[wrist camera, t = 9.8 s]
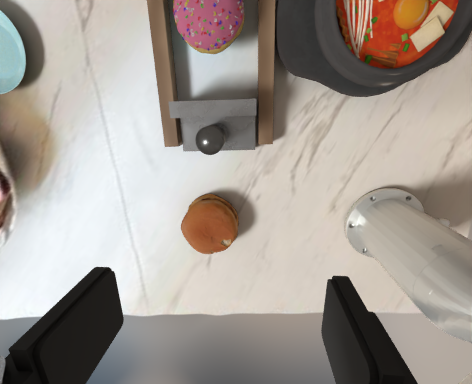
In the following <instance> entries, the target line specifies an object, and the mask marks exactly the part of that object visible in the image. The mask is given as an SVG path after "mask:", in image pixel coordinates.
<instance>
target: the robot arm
mask: <svg viewBox="0 0 472 384" xmlns="http://www.w3.org/2000/svg"><path fill="white" fill-rule="evenodd" d="M449 225H450V222H449V220H448V219H435V218H433V217H431V216H429V215H428V214H426V213H425V210H424V208H423V206H422V204H421V202H420V201H419V200H418V199H417V198H416V197H415V196H414V195H412V194H410V193H408V192H406V191H404V190H401V189H396V188H383V189H378V190H375V191H372V192H370V193H368V194H366V195H364V196H363V197H361V198H360V199H359V200H358V201H357V202H356V203H355V204H354V205H353V206H352V207H351V209H350V210H349V212H348V214H347V217H346V220H345V234H346V238H347V239H348V241H349V243H350V244H351V245H352V247H353V248H354V249H355V250H356V251H358V252H359V253H361V254H363V255H365V256H368V257H373V258H375V259H376V260H377V261H378V263H379V264H380V265H381V266H382V267H383V268H384V270H385V271H386V272H387V273H388V274H389V275H390V276H391V278H392V279H393V280H394V281H395V282H396V283H397V284H398V286H399V287H400V288H401V289H402V290H403V291H404V293H405V294H406V295H407V296H408V297H409V298H410V299H411V301H412V302H413V303H414V304H415V305H416V306H417V307H418V308H419V310H420V311H421V312H422V313H423V314H424V315H425V316H426V318H427V319H428V320H430V322H432V323H433V324H434V325H435V326H437V327H438V328H439V329H441V330H442V331H444V332H446V333H447V334H449V335H451V336H454V337H456V338H459V339H461V340H464V341H468V342H471V343H472V241H471V240H469V239H468V238H466V237H464V236H462V235H461V234H459V233H457V232H456V231H454V230H452V229H450V228H449ZM122 324H123V313H122V308H121V303H120V298H119V293H118V288H117V282H116V277H115V273H114V271H112V270H111V269H110V268H109V267H95V268H94V269H93V270H91V271H90V272H89V273H88V274H87V275H86V276H85V277H84V278H83V279H82V280H81V281H80V282H79V283H78V284H77V285H76V286H75V287H74V288H72V289H71V290H70V291H69V292H68V293H67V294H66V295H65V296H64V297H63V298H62V299H61V300H60V301H59V302H58V303H57V304H56V305H55V306H54V307H52V308H51V309H50V310H49V311H48V312H47V313H46V314H45V315H44V316H43V317H42V318H41V319H40V320H39V321H38V322H37V323H36V324H35V325H33V326H32V328H30V329H29V331H27V332H26V333H25V334H24V335H23V336H22V337H21V338H20V339H19V340H18V341H17V342H16V343H14V344H13V346H11V347H10V348H9V352H10V354H9V355H8V356H7V357H6V358H3V357H2V356H0V384H86V382H87V381H88V379H89V378H90V376H91V374H92V373H93V371H94V370H95V368H96V367H97V365H98V363H99V362H100V360H101V359H102V357H103V355H104V354H105V352H106V351H107V349H108V348H109V346H110V344H111V343H112V341H113V340H114V338H115V336H116V335H117V333H118V332H119V330H120V329H121V326H122ZM322 338H323V341H324V345H325V348H326V352H327V355H328V358H329V362H330V365H331V368H332V372H333V375H334V378H335V382H336V384H418V383H417V382H416V380H415V378H414V377H413V375H412V374H411V372H410V370H409V368H408V367H407V365H406V363H405V362H404V360H403V358H402V357H401V355H400V353H399V352H398V350H397V348H396V347H395V345H394V343H393V342H392V340H391V338H390V337H389V335H388V333H387V332H386V330H385V329H384V327H383V325H382V324H381V322H380V321H379V319H378V317H377V316H376V314H375V313H373V312H368V310H367V308H366V307H365V305H364V303H363V302H362V300H361V298H360V296H359V295H358V293H357V291H356V289H355V288H354V286H353V284H352V282H351V281H350V279H349V277H347V276H333V277H332V279H328V282H327V289H326V297H325V305H324V313H323V322H322ZM458 384H472V371H471V372H470V373H469V374H468V375H467V376H466V377H465V378H464V379H463V380H462V381H461V382H460V383H458Z"/></svg>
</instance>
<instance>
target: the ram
mask: <svg viewBox="0 0 472 384" xmlns="http://www.w3.org/2000/svg"><path fill="white" fill-rule="evenodd" d="M169 111H170V118H180V120H181V130H182V140H183V150H184V151H201V152H202V153H204V154H207V155H213V154H216V153H217V152H219V151H220V150H255V116H256V99H230V100H201V101H171V102H169Z"/></svg>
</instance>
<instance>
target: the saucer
mask: <svg viewBox="0 0 472 384" xmlns="http://www.w3.org/2000/svg"><path fill="white" fill-rule="evenodd" d="M25 69H26V54H25V49H24V45H23V41H22V39H21V37H20V34H19V33H18V31H17V29H16V27H15V26H14V25H13V23H12V22H11V21H10V19H9V18H8V17H7V16H6V15H5V14H4V13H3V12H2V11H1V10H0V94H4V93H7V92H9V91H11V90H13V89H14V88H16V87H17V86H18V85H19V83H20V82H21V80H22V78H23V76H24V73H25Z"/></svg>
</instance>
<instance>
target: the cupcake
mask: <svg viewBox="0 0 472 384" xmlns="http://www.w3.org/2000/svg"><path fill="white" fill-rule="evenodd" d="M173 3H174V7H173V14H174V18H175V22H176V26H177V29H178V31H179V33H180V35H181V36H182V37H183V39H184V40H185V42H187V43H188V44H189V45H190V46H191V47H193V48H194V49H195V50H197V51H199V52H201V53H208V54H217V53H219V52H222V51H223V50H225V49H226V48H227V47H228V46H230V44H231V43H232V42H233V41H234V40H235V39H236V38H237V37H238V36H239V35H240V33H241V30H242V28H243V24H244V4H243V0H173Z"/></svg>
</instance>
